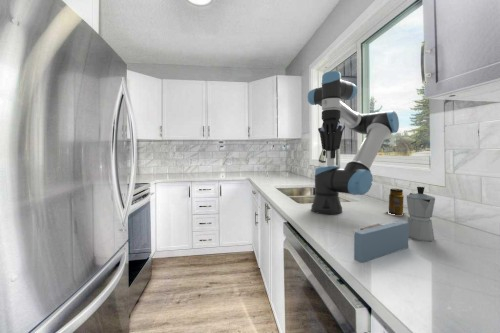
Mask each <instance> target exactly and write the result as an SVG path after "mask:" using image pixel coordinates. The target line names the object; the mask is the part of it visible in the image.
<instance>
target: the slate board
mask: <svg viewBox="0 0 500 333" xmlns="http://www.w3.org/2000/svg"><path fill="white" fill-rule="evenodd" d="M408 236H409V222H408V221H404V220H398V221H394V222H389V223H385V224H381V226H376V227H372V228H368V229H364V230H360V229H359V230H355V231H354V236H353V237H354V239H353V240H354V243H353V244H354V247H353V253H354V254H353V259H354V260H355V261H357V262H359V263H365V262H368V261H372V260H375V259H378V258H380V257H383V256H386V255H389V254H392V253H395V252H399V251H402V250H405V249H407V248H409V238H408Z"/></svg>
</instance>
